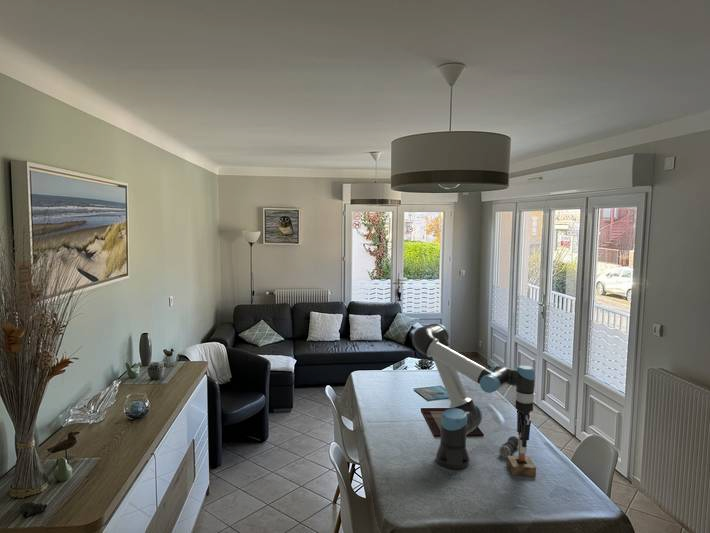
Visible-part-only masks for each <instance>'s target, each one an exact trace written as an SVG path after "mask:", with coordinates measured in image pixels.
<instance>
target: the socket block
mask: <svg viewBox="0 0 710 533" xmlns="http://www.w3.org/2000/svg"><path fill="white" fill-rule="evenodd" d="M506 456H507V455H506ZM506 465H507V467H508V469H509V471H510V473H511V475H512V476H518V477H521V476H523V477H536V476H537V467H536V465H535V463H534V462H533V461H532V459H531V457H530V456H526V455H525V461H520V460H519V459H518V455H510V456H507V458H506Z"/></svg>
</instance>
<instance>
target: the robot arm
mask: <svg viewBox="0 0 710 533" xmlns="http://www.w3.org/2000/svg"><path fill="white" fill-rule="evenodd" d="M449 339H450V333H449V331H448V329H447V327H446V326H444V325H443V324H440V323H437V322H436V323H431V324H427V325H424V326H421V327H419V328H417V329H416V330H414V332H413V334H412V343H413V347H414V348H415V349H416V350H417V351H418V352H419V353H421V354H422V355H423V356H424V355H425V357H428V358H432V359H433V363H434V364H435V366H436V369H437V371H438V373H439V376H440V379H441V382H442V384H443V386H444V389H445V391H446V394H447V396H448V400H449V402H450V405H449V408H448V409H446V410H444V411H443V412H442V413H441V418H440V440H439V441H440V444H439V447H438V449H437V451H436V454H435V461H436V463H437V464H438V465H439V466H441V467H442V468H444V469H445V468H446V469H450V470H463V469H465V468H468V466H469V464H470V457H469V453H468V450H467V435H468V434H470V433H471V432H473V431H474V430H475V429H477V428H479V426H480V424H482V421H483V411H482V409H481V408H480V407H479V405H478V404H476V403H475V402H474V400H473V399H472V398H470V397H469V396H468V394H467V393H466V389H465V388H464V385H463V383H462V380H461V378H460V375H459V374H461V375H462V376H464V377H466V378H468V379H470V380H472V381H474V383H477V384H479V387H480V389H482V391H484V392H485V393H488V394H491V393H494V392H497V391H498V390H499V389H501V388H502V387H503V386H505V385H508V386H513V387H515V388H516V389H515V406H514V407H515V409H516V419H517V420H516V422H517V423H516V432H517V435H518V437H517V438H518V446H517V450H518V451H519V434H520V433H521V438H520V453H525V455H526V454H527V447H528V441H529V440H530V434H531V433H530V432H531V425H532V424H531V423H532V421H531V420H530V413H531V412H533V410H534V400H535V399H534V397H535V396H536V394H535V381H536V374H535V372H536V371H535V370H536V369H535V368H534V367H532V366H531V365H517V368H513V367H509V366H508V367H506V366H503V365H500V364H499V365H495V364H492V365H491V367H490V368H489V369H488V368H486V367H484V366H482V365H480V364H479V363H477V362H475V361H474V360H471V359H470V358H468V357H466V356H465V355H463V354H461V353H459V352H457V351H455V350H453V349H452V348H450V343H449Z"/></svg>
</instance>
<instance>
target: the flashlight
mask: <svg viewBox="0 0 710 533" xmlns="http://www.w3.org/2000/svg"><path fill="white" fill-rule="evenodd" d="M516 448H518V437H517V436H514V435H513V436H512V435H511V436H509V438H508V439H507V441H506V442H505V443H503V444H502V445H501V446H500V447H499V449H498V452H499V454H500V456H501V457H503V458H506V459H507V456H512V454H513V452H514V451H515V450H514V449H516Z"/></svg>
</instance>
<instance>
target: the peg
mask: <svg viewBox="0 0 710 533" xmlns="http://www.w3.org/2000/svg"><path fill="white" fill-rule="evenodd" d="M518 437H519V450H518V455H517V456H518V459H519V460H520V461H525V456H526V454H525V453H520V438H521V433H520V434H519V435H518Z"/></svg>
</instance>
